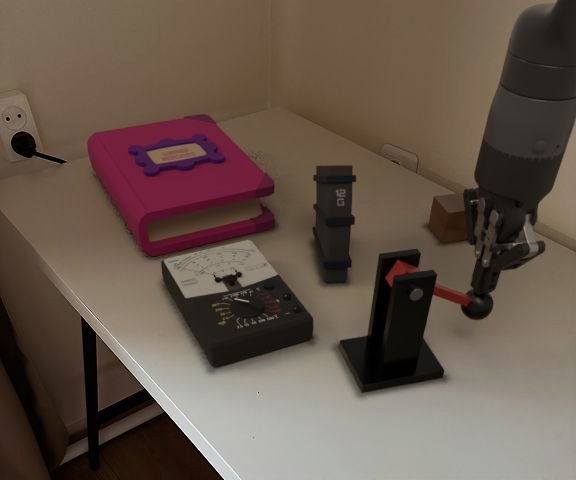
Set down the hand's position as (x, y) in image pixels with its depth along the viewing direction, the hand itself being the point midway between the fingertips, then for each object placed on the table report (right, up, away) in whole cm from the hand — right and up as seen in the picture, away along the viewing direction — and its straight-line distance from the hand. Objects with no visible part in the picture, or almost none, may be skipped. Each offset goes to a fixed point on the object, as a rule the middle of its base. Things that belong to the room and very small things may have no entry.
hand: (481, 289), depth 71 cm
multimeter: (-28, -1, +11) cm, 30 cm away
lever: (-5, -2, 0) cm, 6 cm away
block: (+3, +12, +25) cm, 28 cm away
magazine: (-16, +8, +20) cm, 27 cm away
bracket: (-10, -8, +4) cm, 13 cm away
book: (-39, +19, +31) cm, 53 cm away
